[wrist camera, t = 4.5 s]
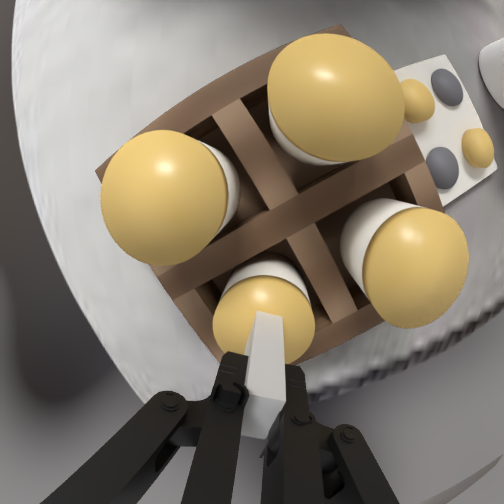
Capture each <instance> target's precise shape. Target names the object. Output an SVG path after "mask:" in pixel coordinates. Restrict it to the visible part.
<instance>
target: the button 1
mask: <svg viewBox="0 0 504 504" xmlns="http://www.w3.org/2000/svg"><path fill="white" fill-rule="evenodd" d="M100 196H101V210H102V215H103V219H104V222H105V224H106V227H107V229H108V231H109V233H110V235H111V236H112V238H113V239H114V241H115V242H116V243H117V244H118V246H119V247H120V248H121V249H122V250H123V251H125V252H126V253H127V254H128V255H130V256H131V257H133V258H135V259H137V260H138V261H141V262H144V263H146V264H151V265H157V266H169V265H175V264H179V263H182V262H185V261H187V260H189V259H191V258H192V257H194V256H195V255H197V254H198V253H199V252H200V251H201V250H203V249H204V248H205V247H206V246H207V245H208V243H209V242H210V241H211V240H212V239H213V238H214V237H215V236H216V235H217V234H218V233H219V232H220V231H221V230H222V229H223V228H224V226H225V225H226V224H227V223H228V222H229V221H230V220H231V219H232V217H233V216H234V214H235V212H236V210H237V208H238V205H239V202H240V196H241V184H240V179H239V175H238V172H237V170H236V168H235V166H234V165H233V163H232V162H231V160H230V159H229V158H228V157H227V156H226V155H225V154H223V153H222V152H221V151H219V150H217V149H216V148H213V147H211V146H209V145H207V144H205V143H203V142H200V141H198V140H196V139H194V138H192V137H189V136H187V135H184V134H182V133H179V132H175V131H170V130H155V131H150V132H146V133H143V134H140V135H138V136H136V137H134V138H133V139H131V140H129V141H128V142H127V143H125V144H124V145H123V146H122V147H121V148H120V149H119V150H118V151H117V152H116V154H115V155H114V156H113V158H112V159H111V161H110V163H109V165H108V167H107V169H106V171H105V174H104V177H103V181H102V186H101V195H100Z"/></svg>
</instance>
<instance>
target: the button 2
mask: <svg viewBox="0 0 504 504" xmlns="http://www.w3.org/2000/svg"><path fill="white" fill-rule="evenodd" d="M256 311H261V312H265V313H269V314H273V315H277V316H281V317H283V336H284V358H285V364H290V363H292V362H293V361H295V360H297V359H298V358H299V357H300V356H302V355H303V354H304V353H305V351H306V350H307V349H308V347H309V346H310V344H311V342H312V340H313V337H314V333H315V320H314V316H313V312H312V308H311V304H310V301H309V297H308V293H307V290H306V286H305V282H304V279H303V276H302V274H301V272H300V270H299V269H298V267H297V266H296V265H295V264H294V263H293V262H292V261H291V260H289V259H288V258H286V257H284V256H282V255H279V254H275V253H259V254H257V255H255V256H253V257H251V258H250V259H248V260H246V261H244V262H242V263H240V264H239V265H237V266H236V267H235V268H234V270H233V271H232V273H231V275H230V277H229V280H228V282H227V285H226V287H225V289H224V292H223V294H222V296H221V299H220V301H219V304H218V306H217V308H216V311H215V314H214V317H213V333H214V337H215V339H216V342H217V344H218V345H219V347H220V348H221V350H222V351H223V352H224V353H226V352H228V351H230V352H234V353H238V354H242V355H244V352H245V347H246V344H247V341H248V337H249V334H250V331H251V328H252V324H253V321H254V318H255V314H256Z"/></svg>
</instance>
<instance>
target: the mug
mask: <svg viewBox="0 0 504 504" xmlns="http://www.w3.org/2000/svg"><path fill="white" fill-rule="evenodd" d="M479 67H480V72H481V75H482V78H483V80H484V83H485V85H486V87H487V89H488V91H489V92H490V94H491V95H492V97H493V98H494V100H495V101H496V102H497V103H498V104H499V105H500V106H501V107H502V108H503V109H504V38H502V39H500V40H497V41H495V42H493V43H491V44H489V45H487V46H485V47H484V48H483V49H482V50H481V51H480V54H479Z"/></svg>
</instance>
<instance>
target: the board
mask: <svg viewBox="0 0 504 504" xmlns="http://www.w3.org/2000/svg"><path fill="white" fill-rule="evenodd" d="M325 33H327V34H337V35H343V36H346V37H350V38H352V37H351V36H350V35H349V34H348V32H347V31H346V30H345V29H344V28H343V26H342V25H341V24H340V25H336V26H333V27H330V28H327V29H324V30H321V31H319V32H316V33H313V34H310V35H314V34H325ZM308 36H309V35H308ZM305 37H306V36H305ZM297 40H298V39H297ZM295 41H296V40H295ZM293 42H294V41H293ZM291 43H292V42H290V43H288V44H285V45H283V46H281V47H279V48H276V49H274V50H272V51H270V52H268V53H265V54H263V55H261V56H259V57H257V58H255V59H253V60H251V61H249V62H247V63H245V64H243V65H241V66H239V67H238V68H236V69H234V70H232V71H230V72H228V73H227V74H225V75H223V76H221V77H220V78H218V79H216V80H214V81H213V82H211V83H209V84H208V85H206V86H204V87H203V88H201V89H200V90H198V91H196V92H195V93H193V94H192V95H190V96H189V97H187V98H186V99H184V100H183V101H181V102H180V103H178V104H177V105H175V106H174V107H172V108H171V109H170V110H168V111H167V112H165V113H164V114H163V115H161V116H160V117H159V118H157V119H156V120H154V121H153V122H152V123H150V124H149V125H148V126H147V127H145V128H144V129H143V130H141V131H140V132H139V133H138V134H136V135H135V136H134V137H136V136H138V135H140V134H143V133H146V132H150V131H155V130H170V131H175V132H179V133H182V134H184V135H187V136H189V137H192V138H194V139H196V140H198V141H200V142H203V143H205V144H207V145H209V146H211V147H213V148H216V149H217V150H219V151H221V152H222V153H223V154H225V155H226V156H227V157H228V158H229V159H230V160H231V162H232V163H233V165H234V166H235V168H236V170H237V172H238V175H239V179H240V184H241V196H240V202H239V205H238V208H237V210H236V212H235V214H234V216H233V217H232V219H231V220H230V221H229V222H228V223H227V224H226V225H225V226H224V228H223V229H222V230H221V231H220V232H219V233H218V234H217V235H216V236H215V237H214V238H213V239H212V240H211V241H210V242H209V243H208V245H207V246H206V247H205V248H204V249H203V250H201V251H200V252H199V253H198V254H197V255H195V256H194V257H192V258H191V259H189V260H187V261H185V262H182V263H179V264H175V265H169V266H157V265H151V264H149V266H150V267H151V269H152V271H153V272H154V274H155V275H156V277H157V278H158V280H159V281H160V283H161V284H162V286H163V287H164V289H165V290H166V292H167V293H168V294H169V296H170V297H171V299H172V300H173V302H174V303H175V305H176V306H177V307H178V309H179V310H180V312H181V313H182V314H183V316H184V317H185V318H186V320H187V321H188V323H189V324H190V325H191V327H192V328H193V329H194V331H195V332H196V333H197V335H198V336H199V337H200V339H201V340H202V341H203V343H204V344H205V345H206V346H207V348H208V349H209V350H210V352H211V353H212V354H213V355H214V357H215V358H216V359H217V360H218V362H219V363H220V362H221V359H222V356H223V355H224V354H225V353H224V352H223V351H222V350H221V348H220V347H219V345H218V344H217V342H216V339H215V337H214V333H213V317H214V314H215V311H216V308H217V306H218V304H219V301H220V299H221V296H222V294H223V292H224V289H225V287H226V285H227V282H228V280H229V277H230V275H231V273H232V271H233V270H234V268H235V267H236V266H237V265H239V264H240V263H242V262H244V261H246V260H248V259H250V258H251V257H253V256H255V255H257V254H259V253H275V254H279V255H282V256H284V257H286V258H288V259H289V260H291V261H292V262H293V263H294V264H295V265H296V266H297V267H298V269H299V270H300V272H301V274H302V276H303V279H304V282H305V286H306V290H307V293H308V297H309V301H310V304H311V308H312V312H313V316H314V320H315V333H314V337H313V340H312V342H311V344H310V346H309V347H308V349H307V350H306V351H305V353H304V354H303V355H302V356H300V357H299V358H298V359H297V360H295V361H293V362H292V363H290V365H296V364H299V363H301V362H303V361H306V360H308V359H310V358H312V357H314V356H317V355H319V354H321V353H323V352H325V351H327V350H329V349H332V348H334V347H336V346H338V345H340V344H342V343H344V342H346V341H348V340H350V339H352V338H354V337H355V336H357V335H359V334H361V333H363V332H365V331H367V330H369V329H370V328H372V327H374V326H376V325H378V324H379V323H381V322H383V321H385V320H384V319H383V318H382V317H381V316H380V315H379V314H378V312H377V311H376V309H375V308H374V306H373V305H372V304H371V302H370V301H369V299H368V298H367V296H366V295H365V294H364V292H363V291H362V289H361V288H360V287H359V285H358V284H357V283H356V281H355V280H354V278H353V277H352V276H351V274H350V273H349V272H348V270H347V269H346V267H345V265H344V263H343V261H342V257H341V253H340V238H341V233H342V230H343V227H344V224H345V223H346V221H347V219H348V217H349V216H350V215H351V213H352V212H353V211H354V210H355V209H356V208H357V207H359V206H360V205H362V204H363V203H365V202H367V201H369V200H372V199H377V198H388V199H393V200H397V201H401V202H405V203H409V204H413V205H417V206H421V207H425V208H428V209H432V210H436V211H439V212H442V213H445V212H444V209H443V206H442V203H441V200H440V197H439V194H438V191H437V189H436V186H435V183H434V181H433V178H432V176H431V173H430V171H429V168H428V166H427V164H426V161H425V159H424V157H423V155H422V152H421V150H420V148H419V146H418V144H417V142H416V139H415V137H414V135H413V133H412V131H411V129H410V127H409V126H408V124H407V122H406V120H405V118H404V119H403V123H402V126H401V129H400V131H399V133H398V135H397V136H396V138H395V139H394V140H393V142H392V143H391V144H390V145H389V146H388V147H387V148H385V149H384V150H383V151H381V152H380V153H378V154H376V155H374V156H371V157H369V158H365V159H361V160H356V161H350V162H344V163H338V164H333V165H327V166H315V165H310V164H306V163H303V162H300V161H298V160H296V159H294V158H293V157H291V156H290V155H289V154H287V153H286V152H285V151H284V150H283V149H282V148H281V147H280V145H279V144H278V143H277V141H276V139H275V137H274V136H273V133H272V130H271V126H270V120H269V105H268V90H267V85H268V76H269V71H270V69H271V66H272V64H273V62H274V60H275V59H276V57H277V56H278V55H279V53H280V52H281V51H282V50H283V49H284V48H285V47H286V46H288V45H289V44H291ZM134 137H133V138H134ZM133 138H132V139H133ZM130 140H131V139H130ZM118 150H119V149H118ZM118 150H117V151H118ZM117 151H116V152H117ZM116 152H115V153H114V154H113V155H112V156H110V157H109V158H108V159H107V160H106V161H105V162H104V163H103V164H102V165H101V166H100V167H98V168H97V169H96V170H95V172H96V174H97V176H98V178H99V180H100V182H101V184H102V181H103V177H104V174H105V171H106V169H107V167H108V165H109V163H110V161H111V159H112V158H113V156H114V155H115V154H116Z"/></svg>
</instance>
